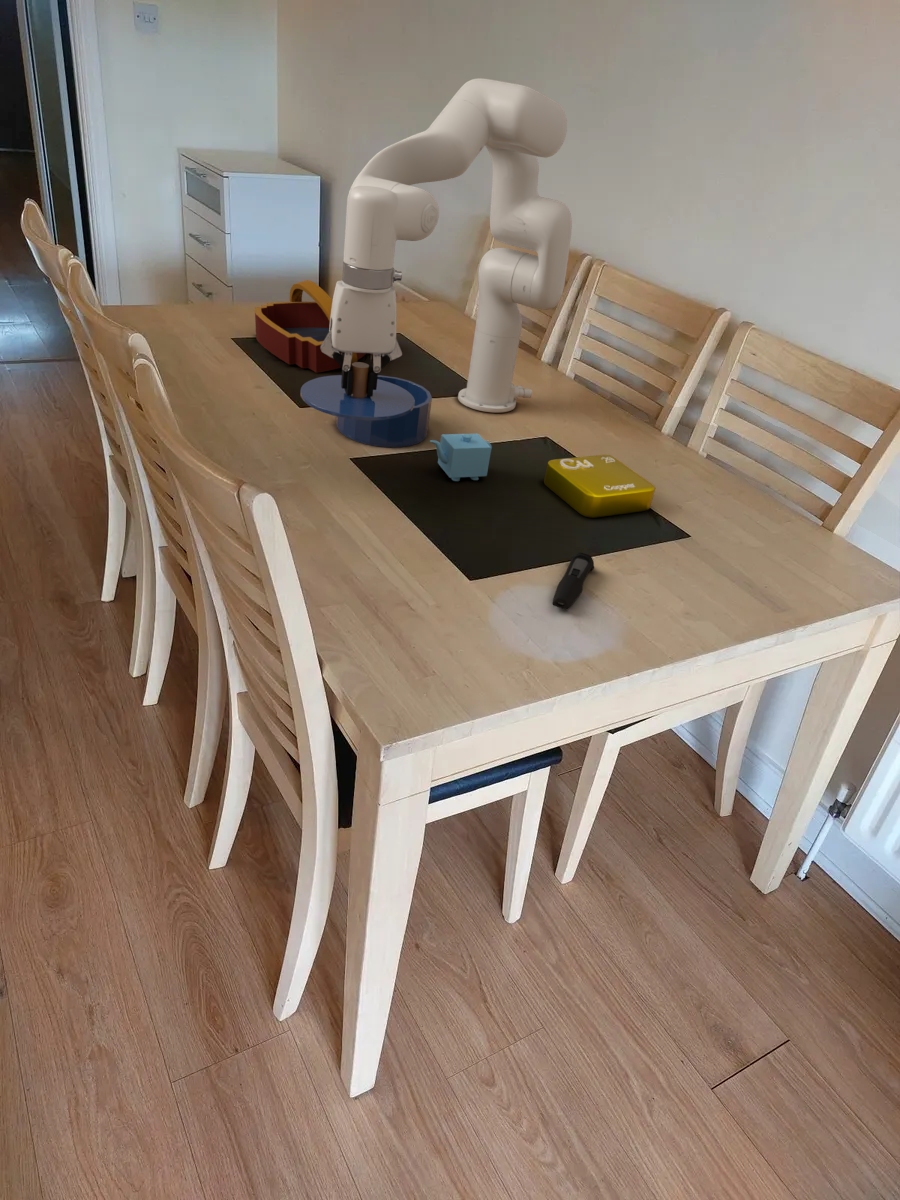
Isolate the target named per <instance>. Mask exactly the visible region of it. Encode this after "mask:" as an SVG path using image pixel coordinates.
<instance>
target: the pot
mask: <svg viewBox="0 0 900 1200" xmlns="http://www.w3.org/2000/svg"><path fill="white" fill-rule="evenodd" d="M377 379H379V380H383V381H387V382H390V383H392V384H395V385H397V386H400V387H402V388H403V389H405V390H407V391H408V392H409V393H410V394H411V395H412V396H413V397H414V400H415V405H414V408H413V410H412V411H411V412H409V413H408V414H406V415H404V416H401V417H398V418H394V419H387V420H356V419H348V418H342V417H338V416H335V417H336V418H335V420H336V421H335V422H336V423H335V425H336V429H337V430H338V432H340V433H341V434H342V435H343V436H345V438H348V439H350V440H352V441H355V442H358V443H360V444H363V445H369V446H373V447H379V448H380V447H381V448H402V447H410V446H413V445H417V444H420V443H421V442H423V441H425V439H426V437H427V435H428V433H429V427H430V418H431V417H430V416H431V410H432V403H433V402H432V401H433V397H432V394H431V392H430V391H429V390H428V389H427V388H425V387H424V386H423V385H421V384H419V383H417V382H413V381H412V380H408V379H404V378H401V377H396V376H387V375H382V374H381V375H380V374H378V378H377Z"/></svg>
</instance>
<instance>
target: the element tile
mask: <svg viewBox="0 0 900 1200" xmlns="http://www.w3.org/2000/svg"><path fill="white" fill-rule="evenodd" d="M543 483H544V486H546V487H547V488H548V489H549V490H550V491H552V493H554V494H555V495H556V496H558V497H559V498H560V499H561V500H562V501H564V502H565V503H566V504H567V505H568V506H570V507H571V508H572V509H573V510H575V512H577V513H578V514H580V516H583V517H585V518H589V519H590V518H592V519H596V518H604V517H613V516H617V515H618V516H619V515H626V514H627V515H628V514H633V513H641V512H646V511H648V510H650V508H651V505H652V502H653V498H654V494H655V492H656V486H655V485H654V484H653V483H652V482H650V481H649V480H647V478H644V477H643V476H641V475H640V474H639V473H638V472H636V471H634V470H633V469H632V468H630V467H629V466H628V465H626V464H625V463H623V462H622V461H621V460H619V459H617V458H616V457H615V456H613V455H610V454H597V455H587V456H577V457H576V456H575V457H565V458H556V459H551V460H548V462H547V465H546V469H545V474H544V479H543Z"/></svg>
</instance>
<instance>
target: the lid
mask: <svg viewBox="0 0 900 1200" xmlns="http://www.w3.org/2000/svg"><path fill="white" fill-rule="evenodd" d="M369 365H370V364H368V363H366V362H362V361H357V362H354V363H352V367H351V370H352V372H353V380H352V394H351V395H350V396H347V395H346V392H345V389H342V387H341V379H342V374H337V375H326V376H319V377H315V378H313V379H310V380H307V381H306V382H304V384H302V386H301V387H300V392H299V393H300V398H301V400H302V401H303V402H304V403H305V404H306V405H308V406H309V407H311V408H313V409H315V410H316V411H319V412H322V413H324V414H327V415H330V416H334V417H336V416H338V417H342V418H348V419H356V420H387V419H394V418H398V417H401V416H404V415H406V414H408V413H409V412H411V411H412V410H413V408H414V405H415V400H414V397H413V396H412V395H411V394H410V393H409V392H408V391H407V390H405V389H403V388H402V387H400V386H397V385H395V384H392V383H390V382H387V381H383V380H379V379H377V389H376V390H373V396H372V397H369V396H368V395H367V387H368V375H369Z"/></svg>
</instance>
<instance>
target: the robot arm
mask: <svg viewBox="0 0 900 1200" xmlns="http://www.w3.org/2000/svg"><path fill="white" fill-rule="evenodd" d="M567 131H568V120H567V113H566V111H565V109H564V107H563V106H562V105H561V104H560V103H559V102H557V101H555V100H554V99H552V98H550V97H548V96H547V95H545V94H543V93H542V92H540V91H538V90H536V89H534V88H532V87H530V86H527V85H524V84H520V83H519V84H518V83H513V82H507V81H503V80H496V79H491V78H483V77H482V78H481V77H479V78H472V79H470V80H468V81H466V82H465V83H464V84H462V85H461V86H460V88H459V89H458V90H457V91H456V93H454V95H453V97H451V99H450V100H449V102H448V103H447V104H446V105H445V106H444V108H443V109H442V111H441V112H439V114H438V115H437V116H436V118H435V119H434V120H433V121H432V123H431V124H430V125H429V126H428V128H427V129H426V130H424V131H420V132H418V133H415V134H412V135H410V136H408V137H405V138H403V139H401V140H399V141H397V142H394V143H392V144H390V145H388V146H386V147H385V148H382V149H381V150H380V151H378V152H377V153H376V154H374V155H373V157H371V158H370V159H369V161H368V162H367V163H366V164H365V166H364V167H363V168H362V169H361V170H360V172H359V173H358V174H357V176H356V177H355V179H354V180H353V183H352V184H351V185H350V188H349V191H348V194H347V199H346V214H345V227H344V229H345V230H344V245H343V258H342V259H343V262H342V276H341V280H337V281H336V283H335V286H334V291H333V297H332V300H333V301H332V308H331V316H330V326H329V333H328V335H327V336H326V338H325V340H324V341H323V343H322V345H321V347H320V349H321V351H322V352H323V353H324V354H326V355H328V356H329V357H332V358H333V359H334V360H335V361H336V362H337V363H338V364H339V365H340V366H341V375H342V379H341V387H342V389H345V392H346V395H347V396H350V395H351V394H352V380H353V372H352V370H351V368H352V367H351V360H352V353H353V352H355V353H366V354H370V364H368V365H369V375H368V387H367V395H368V396H369V397H372V396H373V390H376V389H377V378H378V375H379V373H380V372H381V370H382V369H383V368H384V367H385V366H386V365H388V364H389V363H390V362H391V361H395V360H396V359H399V358H401V357H402V356H403V352H402V351H403V350H402V349H401V346H400V344H399V342H398V339H397V313H398V312H397V309H398V308H397V293H396V287H395V286H394V283H395V282H398V281H402V279H403V273H402V271H400V270H399V271H398V270H397V269H395V268H394V263H395V262H394V261H395V251H396V241H406V242H407V241H408V242H418V241H421V240H424V239H427V238H428V237H430V235H431V234H432V233H433V232H434V231H435V229H436V227H437V225H438V223H439V218H440V208H439V204H438V202H437V199H436V198H435V197H434V195H432V193H430V192H429V191H428V190H426V189H423V188H421V187H417V186H413V185H418V184H424V183H434V182H441V181H446V180H452V179H455V178H458V177H460V176H462V175H463V174H464V173H465V172H466V171H467V170H468V169H469V168H470V166H471V164H472V163H473V162H474V161H475V159H476V158H477V157H478V156H479V154H480V152H482V150H483V149H484V148H486V149H487V152H488V153H489V155H490V156H489V157H490V159H491V166H492V182H491V196H490V198H491V199H490V210H489V211H490V212H489V229H490V234H491V236H492V238H493V239H494V240H496V241H497V242H499V243H501V244H505V245H507V246H511V247H515V248H519V249H524V250H528V251H531V252H535V253H536V254H537V255H536V254H533V253H532V254H531V253H529V252H525V251H521V250H516V249H514V248H508V247H496V248H494V247H493V248H491V249H489V250H487V251H486V252H485V253H484V255H483V256H482V258H481V260H480V262H479V265H478V273H477V276H478V277H477V279H478V280H477V281H478V303H477V314H476V322H475V329H474V335H473V342H472V348H471V354H470V355H471V356H470V362H469V369H468V374H467V381H466V387H465V388H463V389H460V390H459V392H458V395H457V399H458V401H459V403H461V404H462V405H464V406H465V407H467V408H470V409H473V410H476V411H479V412H485V413H496V414H497V413H498V414H500V413H501V414H502V413H508V412H510V411H512V410H514V409H515V408H516V405H517V401H516V400H517V399H518V398H523V399H531V398H532V396H533V390H532V389H531V388H524V386H522V385H515V384H513V379H514V376H515V375H514V374H515V369H516V364H517V363H516V362H517V357H518V351H519V346H520V340H521V334H522V329H523V319H522V315H521V312H520V309H519V306H518V305H521V306H525V307H529V308H533V309H537V310H543V311H548V310H552V309H554V308H555V307H556V306H557V305H558V304H559V303H560V301H561V300H562V299H561V298H562V296H563V293H564V289H565V285H566V277H567V270H568V269H567V268H568V262H569V255H570V246H571V240H572V239H571V238H572V229H573V217H572V214H571V210H570V209H569V207H568V205H566V203H563V202H562V201H560V200H557V199H553V198H548V197H545V196H540V194H539V192H538V185H539V184H538V183H539V171H540V165H539V160H538V157H539V158H545V159H547V158H550V157H552V156H554V155H556V154H557V153H558V152H559V151H560V149H561V148H562V146H563V144H564V142H565V139H566V136H567ZM332 346H333V348H332ZM335 349H336V350H335ZM339 351H342V353H340V352H339Z"/></svg>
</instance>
